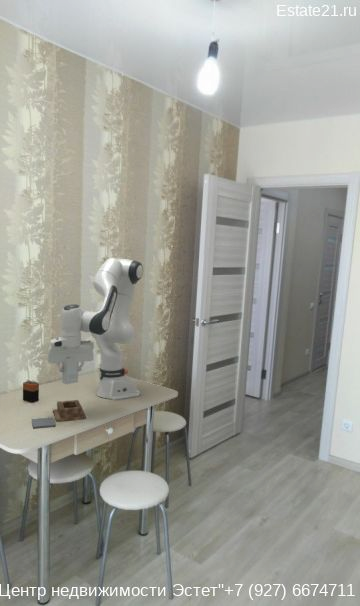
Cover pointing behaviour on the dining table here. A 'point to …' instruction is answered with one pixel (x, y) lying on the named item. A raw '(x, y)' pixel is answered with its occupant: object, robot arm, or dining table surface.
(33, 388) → the battery
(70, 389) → the dining table surface
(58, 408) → the socket block
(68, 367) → the skincare box
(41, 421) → the rubber mat
